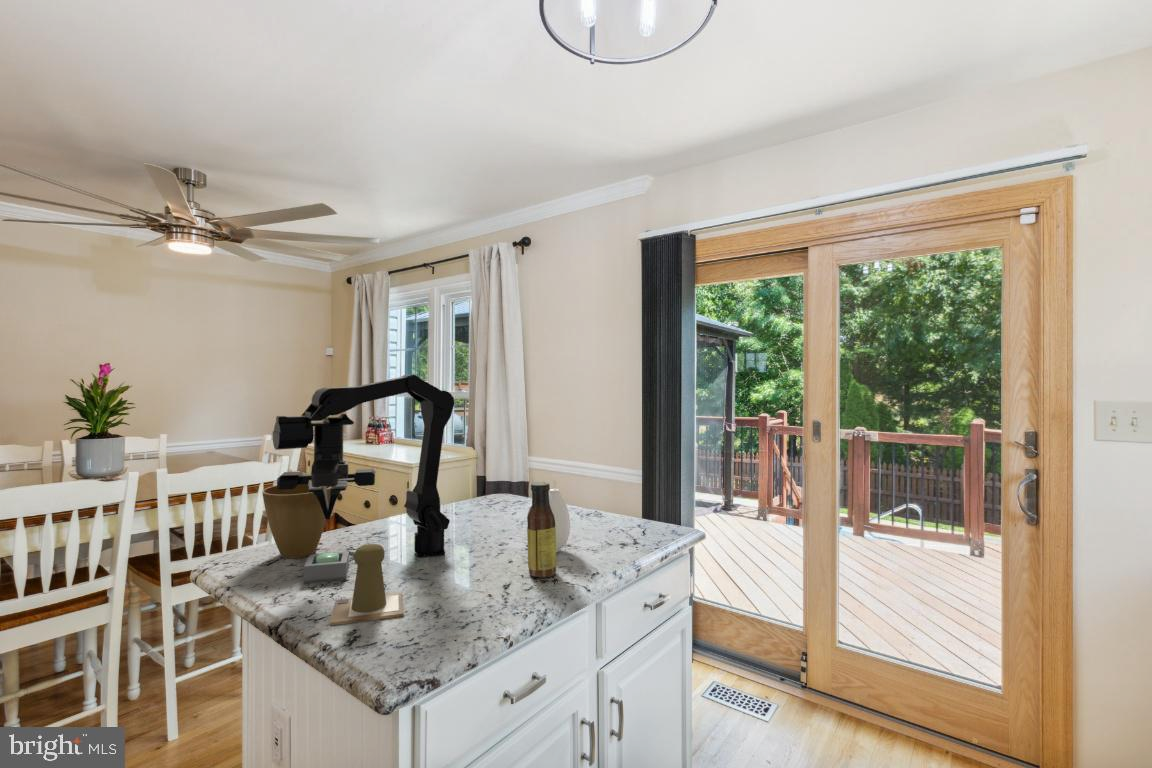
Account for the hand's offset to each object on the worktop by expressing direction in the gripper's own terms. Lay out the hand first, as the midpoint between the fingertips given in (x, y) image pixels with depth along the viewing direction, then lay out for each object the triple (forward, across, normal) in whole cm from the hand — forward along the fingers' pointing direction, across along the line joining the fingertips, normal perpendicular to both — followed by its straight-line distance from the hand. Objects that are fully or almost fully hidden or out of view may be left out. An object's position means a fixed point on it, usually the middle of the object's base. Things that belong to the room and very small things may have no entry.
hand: (327, 519), depth 115 cm
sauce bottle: (+12, +44, -13) cm, 47 cm away
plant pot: (+12, -8, +17) cm, 23 cm away
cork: (+12, +9, -21) cm, 25 cm away
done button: (+11, 0, 0) cm, 11 cm away
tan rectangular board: (+12, +9, -21) cm, 26 cm away
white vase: (+12, +51, +1) cm, 52 cm away
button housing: (+12, 0, 0) cm, 12 cm away
